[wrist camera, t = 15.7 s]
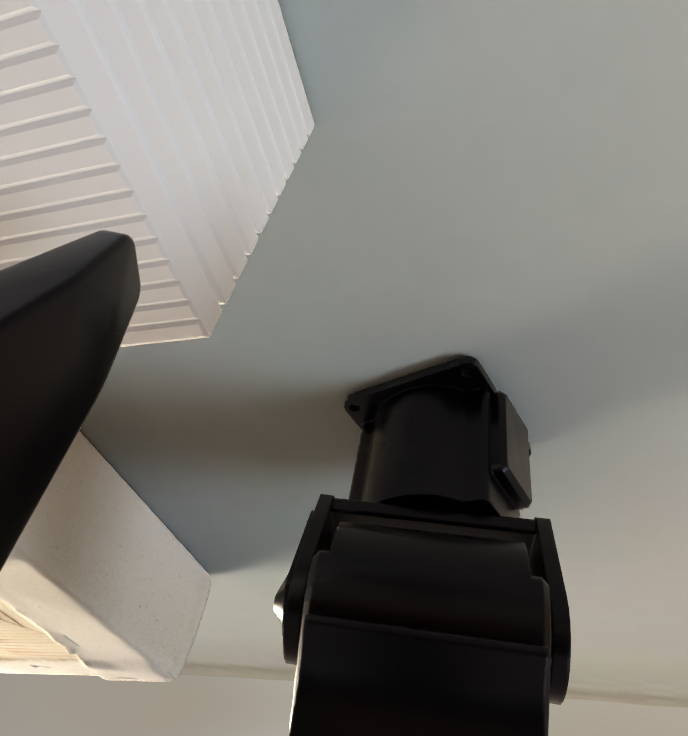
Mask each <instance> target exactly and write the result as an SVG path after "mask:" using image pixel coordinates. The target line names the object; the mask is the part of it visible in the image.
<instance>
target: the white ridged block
mask: <svg viewBox="0 0 688 736" xmlns="http://www.w3.org/2000/svg"><path fill="white" fill-rule="evenodd" d="M314 126H315V125H314V121H313V118H312V114H311V111H310V108H309V104H308V101H307V97H306V94H305V91H304V87H303V84H302V81H301V77H300V74H299V70H298V67H297V64H296V60H295V57H294V54H293V50H292V47H291V43H290V40H289V37H288V33H287V30H286V26H285V23H284V20H283V16H282V13H281V10H280V6H279V3H278V0H0V270H2V269H5V268H7V267H10V266H12V265H15V264H17V263H20V262H22V261H25V260H27V259H30V258H32V257H35V256H37V255H40V254H42V253H45V252H47V251H49V250H52V249H54V248H57V247H59V246H62V245H64V244H67V243H69V242H72V241H74V240H77V239H79V238H82V237H84V236H87V235H89V234H92V233H94V232H97V231H100V230H107V231H112V232H117V233H123V234H127V235H129V236H130V237H131V238H132V239H133V241H134V244H135V248H136V255H137V262H138V269H139V276H140V284H141V289H140V296H139V300H138V303H137V305H136V308H135V310H134V312H133V315H132V317H131V320H130V322H129V325H128V327H127V330H126V332H125V335H124V337H123V340H122V342H121V345H120V347H124V346H133V345H143V344H152V343H161V342H170V341H179V340H188V339H198V338H207V337H210V336H211V334H212V332H213V330H214V328H215V326H216V324H217V322H218V320H219V318H220V316H221V314H222V312H223V311H222V309H221V307H220V305H223V304H227V302H228V300H229V298H230V296H231V294H232V292H233V290H234V288H235V286H236V284H235V282H234V279H236V278H240V276H241V274H242V272H243V270H244V268H245V266H246V263H247V261H248V260H247V257H246V255H251V253H252V251H253V249H254V247H255V245H256V243H257V241H258V239H259V238H258V235H257V234H259V233H262V231H263V229H264V227H265V225H266V223H267V221H268V219H269V218H268V215H267V214H271V213H272V211H273V209H274V207H275V205H276V203H277V201H278V199H277V196H280V195H281V193H282V191H283V189H284V187H285V185H286V181H285V179H289V177H290V175H291V172H292V170H293V168H294V166H293V164H296V162H297V160H298V158H299V156H300V154H301V151H300V150H302V149H303V148H304V146H305V144H306V142H307V140H308V139H307V137H308V136H310V134H311V132H312V130H313V128H314Z"/></svg>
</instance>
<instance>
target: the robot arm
mask: <svg viewBox="0 0 688 736" xmlns="http://www.w3.org/2000/svg"><path fill="white" fill-rule="evenodd" d="M140 289H141V284H140V276H139V269H138V262H137V255H136V248H135V244H134V241H133V239H132V238H131V237H130V236H129V235H127V234H123V233H117V232H112V231H107V230H100V231H97V232H94V233H92V234H89V235H87V236H84V237H82V238H79V239H77V240H74V241H72V242H69V243H67V244H64V245H62V246H59V247H57V248H54V249H52V250H49V251H47V252H45V253H42V254H40V255H37V256H35V257H32V258H30V259H27V260H25V261H22V262H20V263H17V264H15V265H12V266H10V267H7V268H5V269H2V270H0V571H1V570H2V568H3V566H4V564H5V563H6V561H7V559H8V557H9V555H10V554H11V552H12V550H13V548H14V546H15V545H16V543H17V541H18V539H19V537H20V536H21V534H22V532H23V530H24V528H25V527H26V525H27V523H28V521H29V519H30V518H31V516H32V514H33V512H34V511H35V509H36V507H37V505H38V503H39V502H40V500H41V498H42V496H43V494H44V493H45V491H46V489H47V487H48V485H49V484H50V482H51V480H52V478H53V476H54V475H55V473H56V471H57V469H58V467H59V466H60V464H61V462H62V460H63V458H64V457H65V455H66V453H67V451H68V450H69V448H70V446H71V444H72V442H73V441H74V439H75V437H76V435H77V433H78V432H79V430H80V428H81V426H82V424H83V423H84V421H85V419H86V417H87V415H88V414H89V412H90V410H91V408H92V406H93V405H94V403H95V401H96V399H97V397H98V395H99V393H100V392H101V390H102V388H103V386H104V383H105V381H106V379H107V377H108V374H109V372H110V370H111V367H112V365H113V362H114V360H115V357H116V355H117V352H118V350H119V347H120V345H121V342H122V340H123V337H124V335H125V332H126V330H127V327H128V325H129V322H130V320H131V317H132V315H133V312H134V310H135V308H136V305H137V303H138V300H139V296H140ZM466 367H469V368H472V369H471V370H466V369H464V368H466ZM354 404H357V405H354ZM344 408H345V410H346V412H347V413H348V414H349V415H350V416H351V418H352V419H353V420H354V421H355V422H356V424H357V425H358V426H359V427H360V429H361V430H362V432H361V437H360V442H359V447H358V452H357V458H356V463H355V468H354V473H353V479H352V484H351V489H350V494H349V499H339V498H335V497H334V496H333V495H324V494H320V497H319V500H318V502H317V505H316V508H315V511H314V510H312V511H311V513H310V516H309V519H308V520H307V524H306V527H305V530H304V532H303V535H302V538H301V541H300V543H299V546H298V549H297V552H296V554H295V557H294V560H293V562H292V565H291V568H290V571H289V573H288V575H287V577H286V578H285V580H284V582H283V583H282V585H281V587H280V589H279V590H278V592H277V594H276V596H275V600H274V612H275V614H276V616H277V617H278V619H279V620H280V622H281V623H282V635H283V653H284V659H285V661H286V663H288V664H295V665H297V666H296V675H295V684H294V692H293V701H292V710H291V719H290V734H289V736H548V721H549V703H552V704H559V705H561V703H562V702H563V701H564V698H565V695H566V691H567V686H568V680H569V672H570V657H571V631H570V616H569V607H568V601H567V595H566V590H565V586H564V581H563V576H562V572H561V567H560V563H559V558H558V553H557V549H556V544H555V539H554V535H553V530H552V525H551V521H550V519H545V518H536V517H535V518H534V520H532V519H523V518H520V509H525V508H528V507H529V506H530V504H531V502H532V493H531V477H530V461H529V456H530V455H531V446H530V443H529V442H528V431H527V428H526V426H525V425H524V423H523V421H522V420H521V418H520V416H519V415H518V413H517V412H516V410H515V408H514V407H513V405H512V403H511V402H510V400H509V398H508V397H507V395H506V394H504V393H503V392H501V391H499V392H498V391H497V390H496V388H495V387H494V385H493V383H492V382H491V380H490V378H489V377H488V375H487V374H486V372H485V370H484V369H483V367H482V365H481V364H480V362H479V361H478V360H477V359H476V358H474V357H469V356H466V357H461V358H458V359H455V360H452V361H449V362H446V363H443V364H440V365H437V366H434V367H431V368H428V369H425V370H422V371H419V372H416V373H413V374H410V375H407V376H404V377H401V378H398V379H395V380H392V381H389V382H386V383H383V384H380V385H377V386H374V387H371V388H368V389H365V390H362V391H359V392H356V393H353V394H350V395H348V396H347V397H346V400H345V404H344Z"/></svg>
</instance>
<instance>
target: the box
mask: <svg viewBox="0 0 688 736" xmlns="http://www.w3.org/2000/svg"><path fill="white" fill-rule="evenodd" d="M210 587H211V578H210V576H209V574H208V573H207V572H206V571H205V570H204V569H203V567H202V566H201V565H200V564H199V563H198V562H197V561H196V560H195V558H194V557H193V556H192V555H191V554H190V553H189V552H188V551H187V550H186V548H185V547H184V546H183V545H182V544H181V543H180V542H179V541H178V540H177V539H176V538H175V536H174V535H173V534H172V533H171V532H170V531H169V529H168V528H167V527H166V526H165V525H164V524H163V523H162V522H161V521H160V520H159V519H158V517H157V516H156V515H155V514H154V513H153V512H152V511H151V510H150V509H149V507H148V506H147V505H146V504H145V503H144V502H143V501H142V500H141V499H140V498H139V496H137V494H136V493H135V492H134V491H133V490H132V489H131V487H130V486H129V485H128V484H127V483H126V482H125V481H124V480H123V479H122V478H121V477H120V475H119V474H118V473H117V472H116V471H115V470H114V469H113V468H112V467H111V465H110V464H109V463H108V462H107V461H106V460H105V459H104V458H103V457H102V456H101V454H100V453H99V452H98V451H97V450H96V449H95V448H94V447H93V446H92V444H90V443H89V441H88V440H87V439H86V438H85V436H84V435H83V434H82V433H81V432H80V431H79V432H78V433H77V435H76V437H75V439H74V441H73V442H72V444H71V446H70V448H69V450H68V451H67V453H66V455H65V457H64V458H63V460H62V462H61V464H60V466H59V467H58V469H57V471H56V473H55V475H54V476H53V478H52V480H51V482H50V484H49V485H48V487H47V489H46V491H45V493H44V494H43V496H42V498H41V500H40V502H39V503H38V505H37V507H36V509H35V511H34V512H33V514H32V516H31V518H30V519H29V521H28V523H27V525H26V527H25V528H24V530H23V532H22V534H21V536H20V537H19V539H18V541H17V543H16V545H15V546H14V548H13V550H12V552H11V554H10V555H9V557H8V559H7V561H6V563H5V564H4V566H3V568H2V570H1V571H0V673H24V674H60V675H62V674H63V675H96V676H97V675H99V676H100V677H101V678H103V679H106V680H113V681H123V680H124V681H158V682H165V681H166V682H167V681H174V680H176V679H177V678H178V677H179V676H180V674H181V672H182V670H183V668H184V665H185V663H186V660H187V657H188V655H189V652H190V650H191V647H192V645H193V642H194V639H195V637H196V634H197V631H198V628H199V625H200V621H201V618H202V615H203V612H204V609H205V605H206V602H207V599H208V596H209V592H210Z"/></svg>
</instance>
